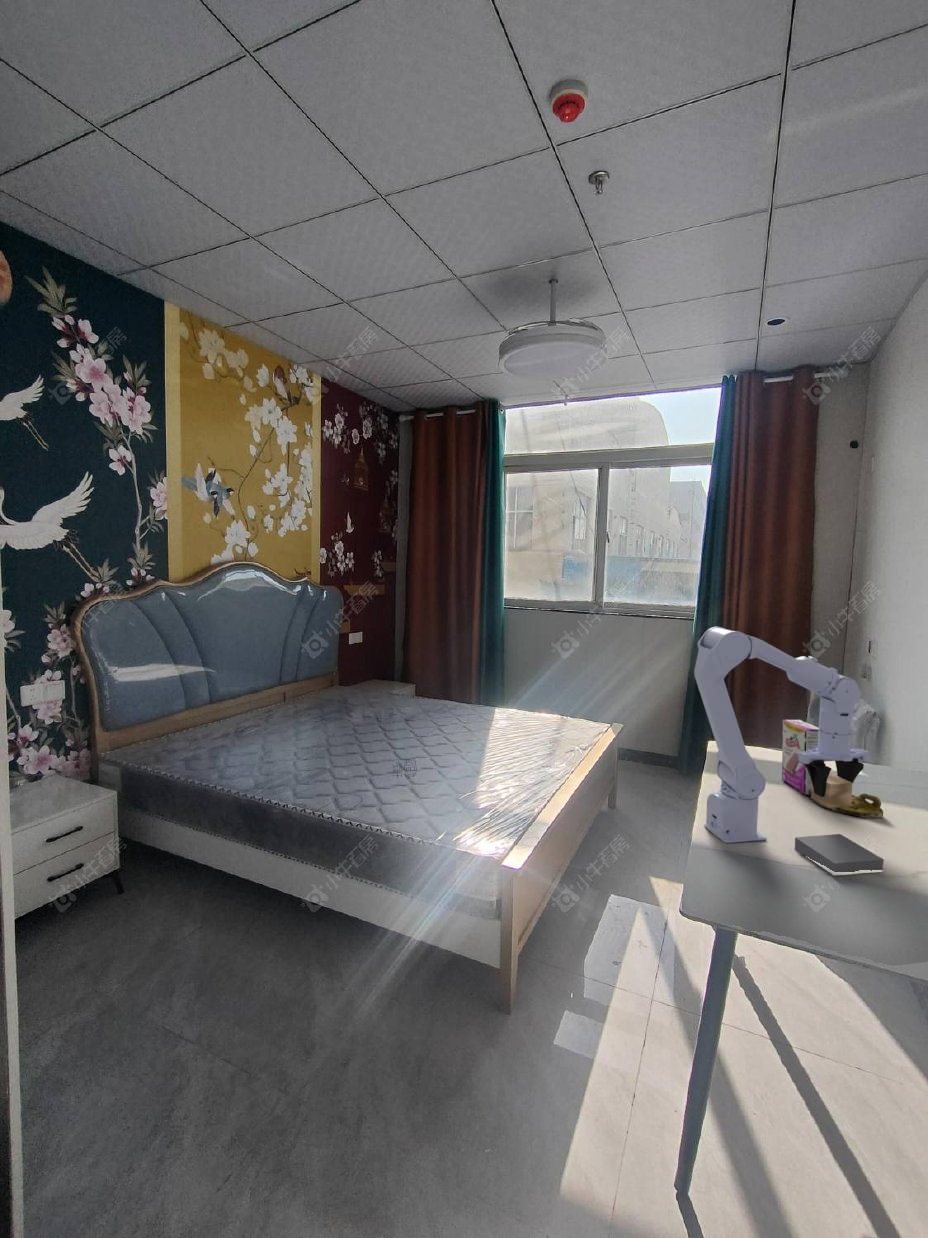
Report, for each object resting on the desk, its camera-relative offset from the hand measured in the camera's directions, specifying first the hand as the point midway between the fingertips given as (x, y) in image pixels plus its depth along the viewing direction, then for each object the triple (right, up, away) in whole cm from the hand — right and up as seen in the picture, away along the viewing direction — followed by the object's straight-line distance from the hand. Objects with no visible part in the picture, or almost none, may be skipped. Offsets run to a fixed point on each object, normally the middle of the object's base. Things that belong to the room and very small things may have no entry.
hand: (831, 794), depth 117 cm
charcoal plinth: (-6, -10, -10) cm, 15 cm away
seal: (+12, -7, +14) cm, 20 cm away
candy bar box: (+9, -6, +25) cm, 27 cm away
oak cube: (0, -2, 0) cm, 2 cm away
